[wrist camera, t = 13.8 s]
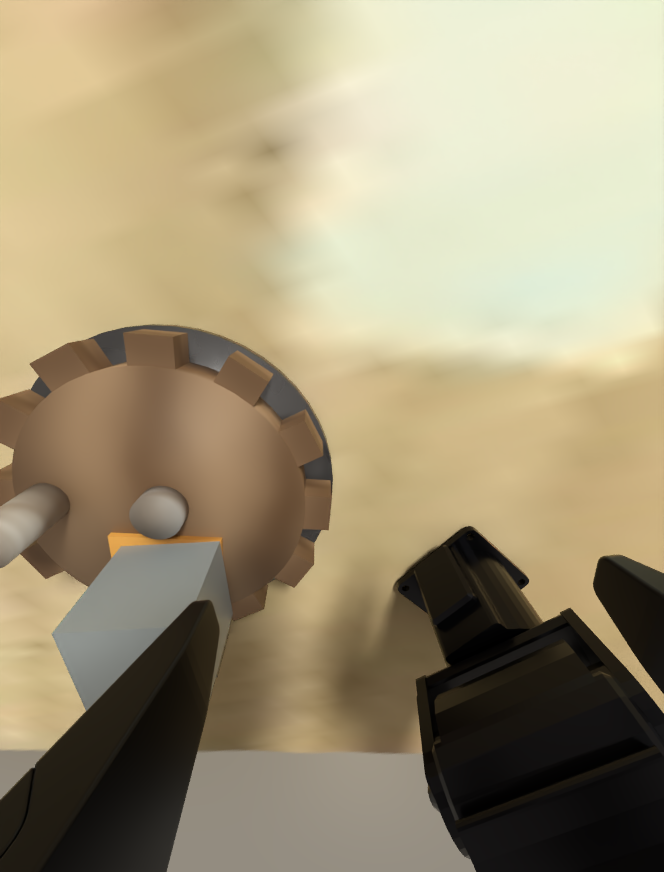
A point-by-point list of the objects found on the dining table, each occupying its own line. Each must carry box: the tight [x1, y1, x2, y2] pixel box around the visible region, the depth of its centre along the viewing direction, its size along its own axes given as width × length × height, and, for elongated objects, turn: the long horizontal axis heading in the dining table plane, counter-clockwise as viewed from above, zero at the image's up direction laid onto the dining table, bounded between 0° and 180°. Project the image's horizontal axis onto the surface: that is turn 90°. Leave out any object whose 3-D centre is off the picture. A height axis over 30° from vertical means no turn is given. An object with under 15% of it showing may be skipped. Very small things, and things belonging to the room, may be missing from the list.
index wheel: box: [0, 329, 332, 621], centre depth 17 cm, size 17×17×6 cm
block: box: [52, 541, 233, 711], centre depth 16 cm, size 5×5×5 cm
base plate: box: [31, 324, 333, 582], centre depth 20 cm, size 17×17×1 cm
